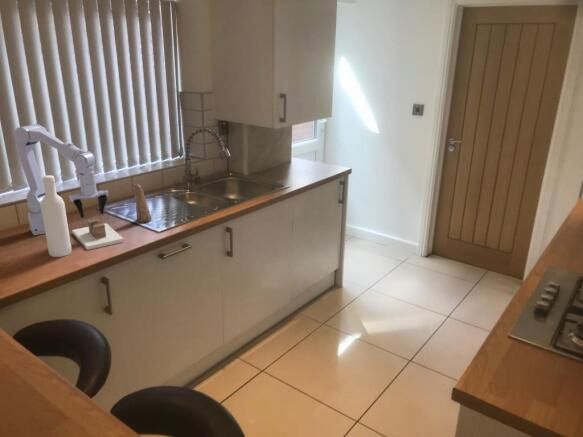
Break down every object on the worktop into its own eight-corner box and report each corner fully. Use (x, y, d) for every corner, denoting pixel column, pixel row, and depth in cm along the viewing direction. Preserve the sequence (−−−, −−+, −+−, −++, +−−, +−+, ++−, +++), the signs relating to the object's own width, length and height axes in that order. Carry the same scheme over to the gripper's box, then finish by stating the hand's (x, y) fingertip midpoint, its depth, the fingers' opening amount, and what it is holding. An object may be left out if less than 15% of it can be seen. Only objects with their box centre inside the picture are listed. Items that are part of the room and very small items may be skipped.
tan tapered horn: (138, 220, 216) (137, 225, 210) (128, 183, 209) (126, 187, 203) (152, 217, 217) (151, 222, 211) (142, 180, 209) (141, 184, 204)
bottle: (53, 248, 182) (41, 173, 172) (75, 248, 183) (63, 173, 172) (45, 257, 175) (31, 179, 164) (67, 257, 175) (55, 179, 165)
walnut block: (89, 232, 195) (87, 220, 193) (99, 230, 197) (97, 218, 196) (95, 239, 188) (94, 227, 187) (106, 236, 191) (104, 225, 189)
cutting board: (87, 250, 182) (87, 246, 181) (72, 233, 197) (72, 230, 197) (123, 241, 190) (123, 238, 189) (106, 226, 205) (106, 223, 205)
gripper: (71, 188, 180) (75, 221, 184) (109, 182, 188) (113, 214, 193) (66, 183, 185) (71, 216, 190) (104, 178, 193) (107, 209, 198)
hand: (91, 215), depth 192 cm, fingers open, 7 cm apart
